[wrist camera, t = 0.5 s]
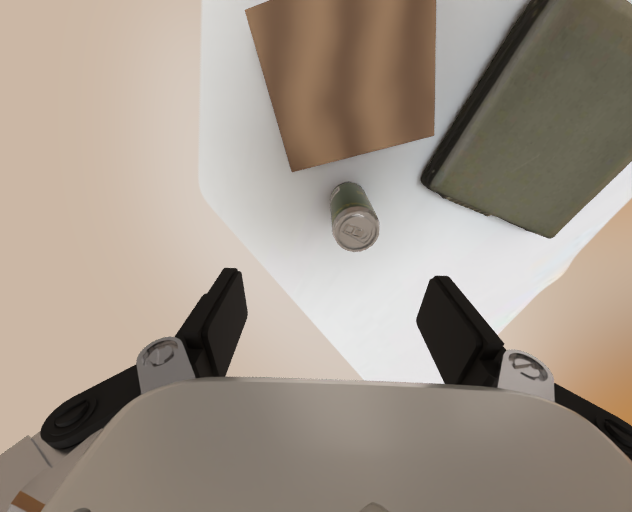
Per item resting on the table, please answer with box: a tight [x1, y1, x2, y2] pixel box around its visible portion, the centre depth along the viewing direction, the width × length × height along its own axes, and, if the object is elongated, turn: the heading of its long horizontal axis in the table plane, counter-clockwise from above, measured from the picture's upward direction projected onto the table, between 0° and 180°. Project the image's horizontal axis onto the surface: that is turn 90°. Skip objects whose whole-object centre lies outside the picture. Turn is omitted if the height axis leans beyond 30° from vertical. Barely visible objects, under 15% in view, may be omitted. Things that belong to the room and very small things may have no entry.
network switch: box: [421, 0, 632, 238], centre depth 29 cm, size 23×23×5 cm
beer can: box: [330, 182, 379, 252], centre depth 31 cm, size 5×5×12 cm
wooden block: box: [245, 0, 436, 172], centre depth 25 cm, size 16×14×7 cm
